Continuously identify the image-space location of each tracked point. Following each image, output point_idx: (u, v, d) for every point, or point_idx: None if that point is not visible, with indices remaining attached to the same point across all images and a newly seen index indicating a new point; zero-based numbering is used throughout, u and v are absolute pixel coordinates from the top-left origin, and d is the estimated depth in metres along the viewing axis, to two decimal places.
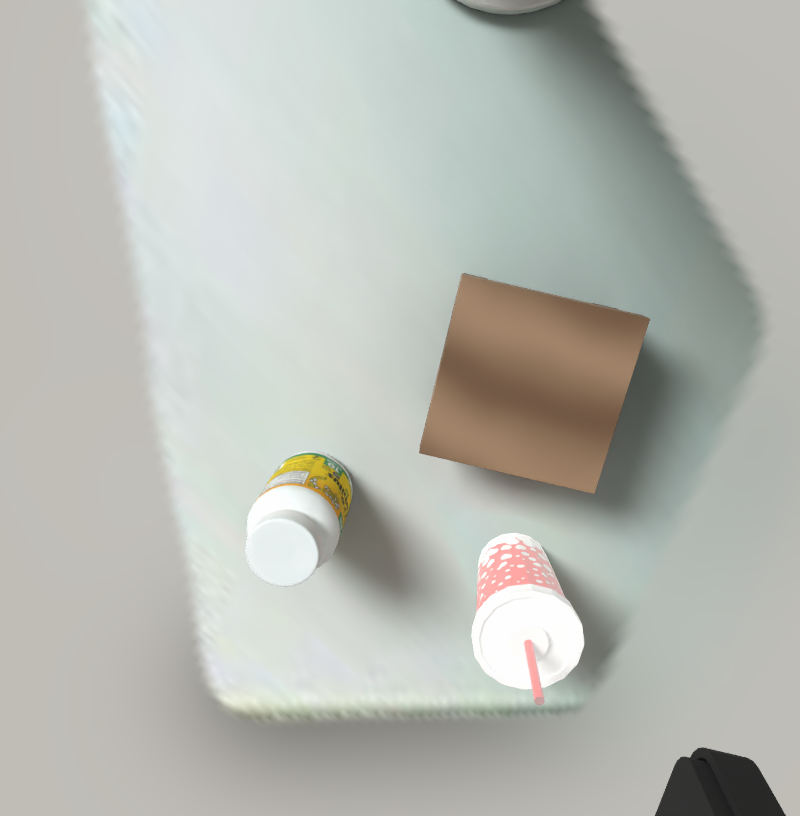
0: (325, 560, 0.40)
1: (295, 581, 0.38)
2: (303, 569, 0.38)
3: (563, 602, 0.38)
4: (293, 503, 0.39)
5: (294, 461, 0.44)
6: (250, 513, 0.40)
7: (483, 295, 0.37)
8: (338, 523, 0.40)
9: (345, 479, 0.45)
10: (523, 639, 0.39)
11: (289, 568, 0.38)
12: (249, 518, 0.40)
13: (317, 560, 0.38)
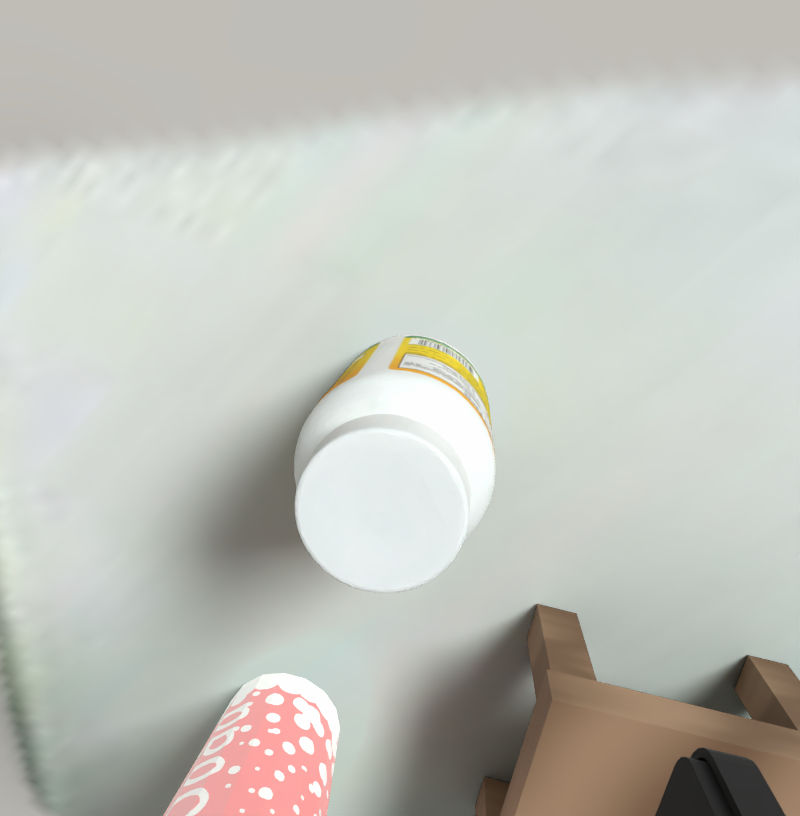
0: None
1: (310, 538, 0.16)
2: (341, 559, 0.16)
3: None
4: (470, 495, 0.18)
5: (487, 404, 0.23)
6: (437, 389, 0.18)
7: None
8: None
9: None
10: None
11: (342, 527, 0.16)
12: (426, 389, 0.18)
13: (365, 589, 0.17)
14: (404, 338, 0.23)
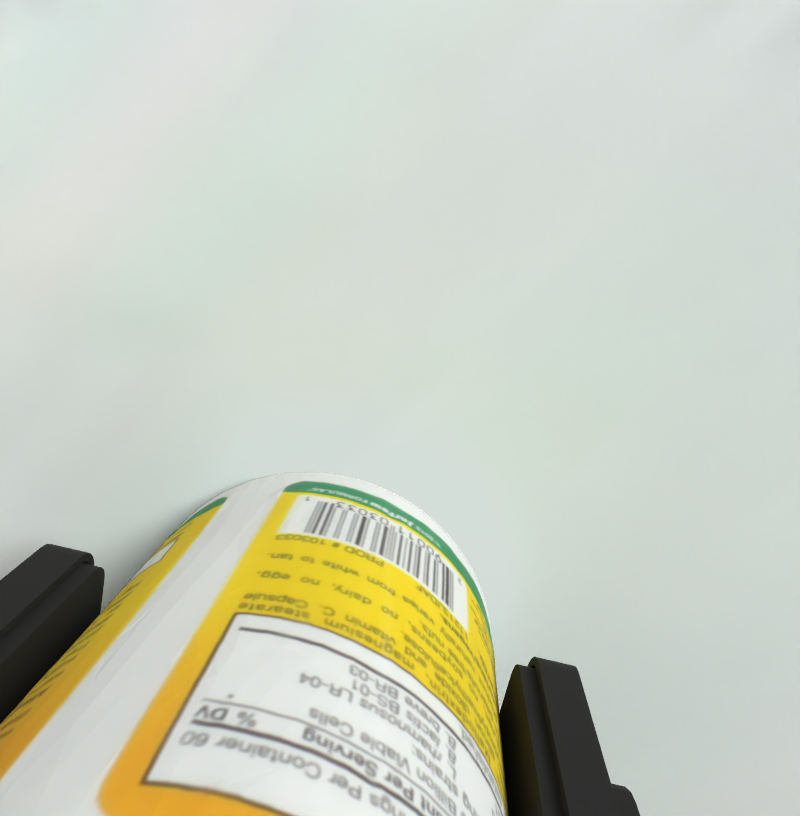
0: None
1: None
2: None
3: None
4: None
5: (492, 677, 0.09)
6: None
7: None
8: None
9: None
10: None
11: None
12: None
13: None
14: (280, 497, 0.09)
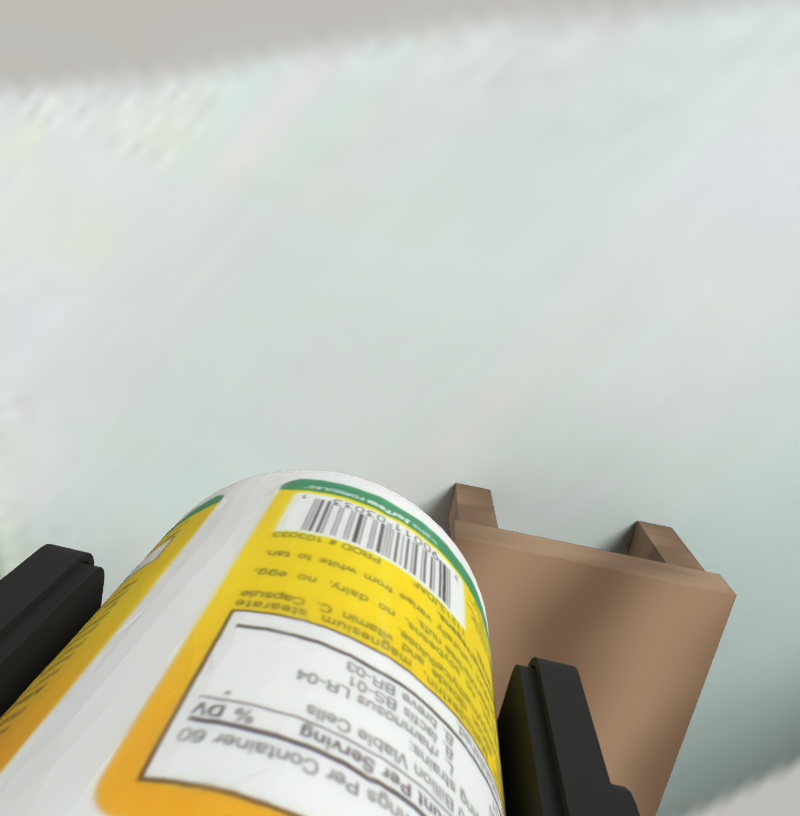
0: None
1: None
2: None
3: None
4: None
5: (488, 674, 0.09)
6: None
7: (703, 623, 0.25)
8: None
9: None
10: None
11: None
12: None
13: None
14: (276, 494, 0.09)
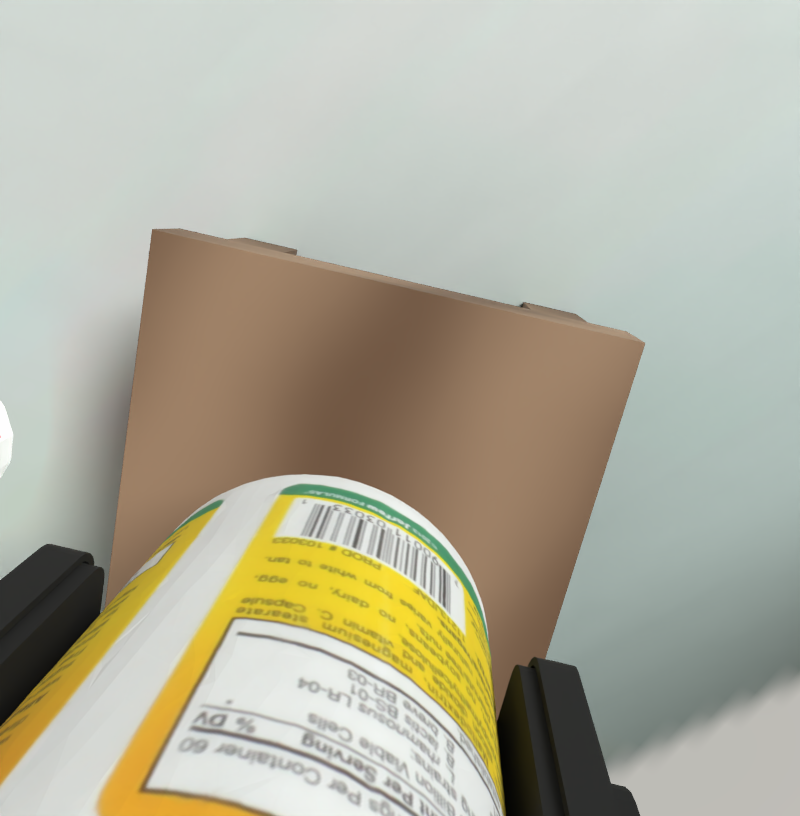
0: None
1: None
2: None
3: None
4: None
5: (489, 679, 0.09)
6: None
7: (587, 396, 0.14)
8: None
9: None
10: None
11: None
12: None
13: None
14: (276, 500, 0.09)
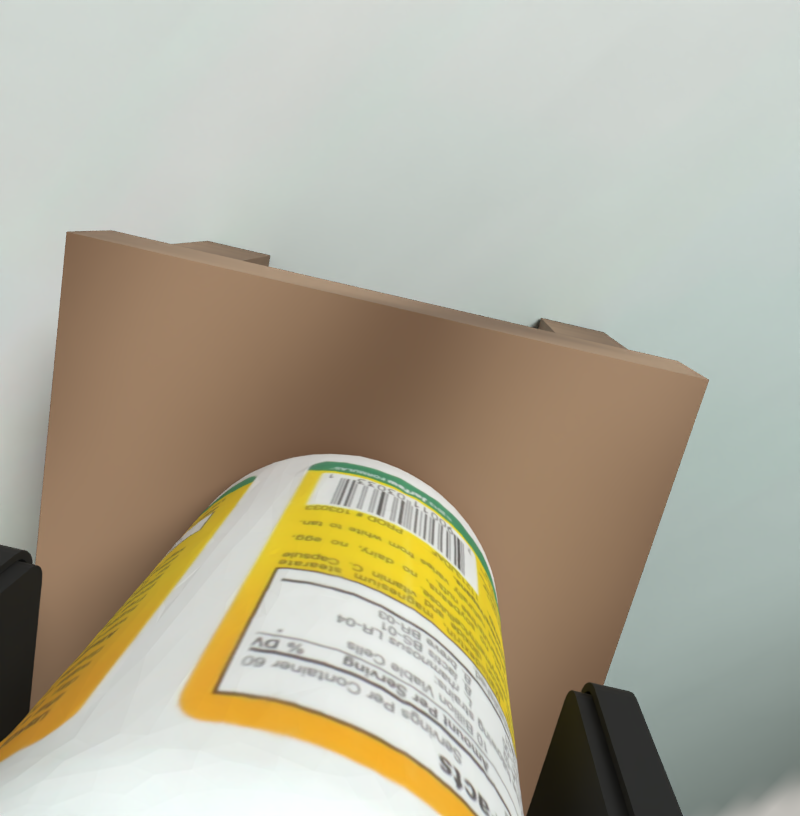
0: None
1: None
2: None
3: None
4: None
5: (499, 636, 0.10)
6: None
7: (633, 448, 0.11)
8: None
9: None
10: None
11: None
12: None
13: None
14: (306, 474, 0.10)
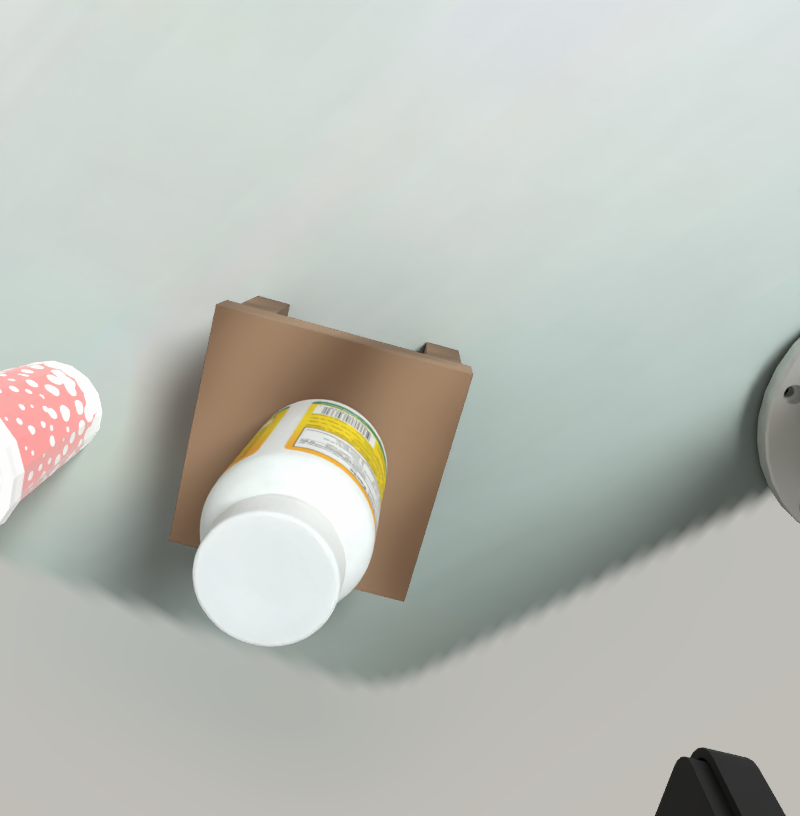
0: None
1: (205, 600, 0.19)
2: (232, 618, 0.19)
3: (0, 520, 0.26)
4: (349, 560, 0.21)
5: (382, 467, 0.26)
6: (323, 469, 0.21)
7: (443, 401, 0.27)
8: None
9: None
10: None
11: (233, 592, 0.19)
12: (314, 469, 0.21)
13: (253, 642, 0.19)
14: (311, 405, 0.26)
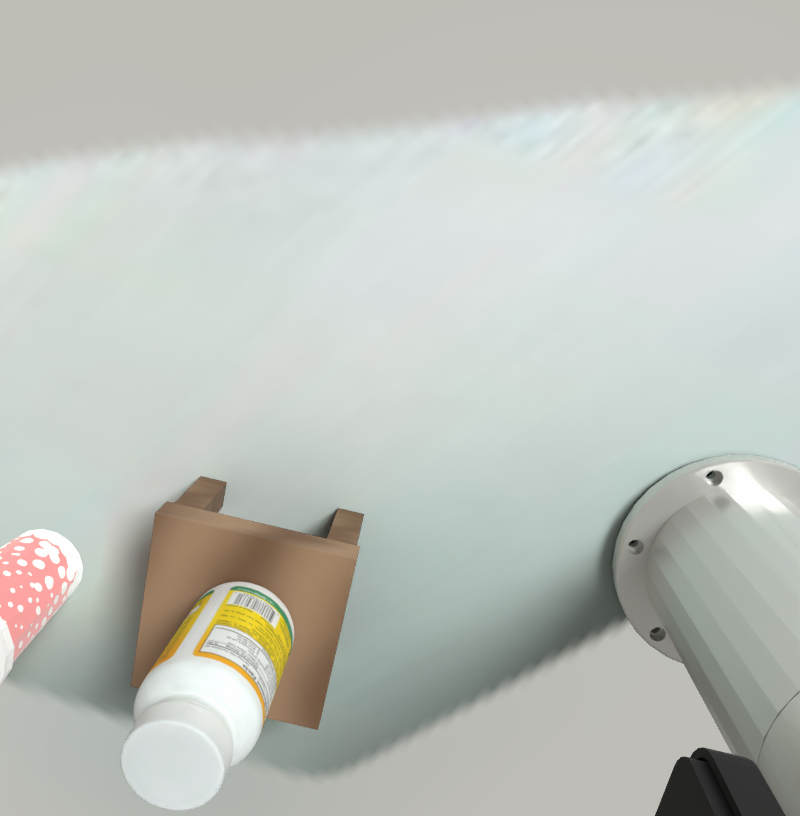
0: None
1: (130, 779, 0.27)
2: (150, 791, 0.27)
3: None
4: (240, 738, 0.29)
5: (283, 640, 0.33)
6: (218, 673, 0.28)
7: (335, 579, 0.35)
8: None
9: None
10: None
11: (149, 774, 0.27)
12: (211, 674, 0.28)
13: (166, 807, 0.27)
14: (228, 592, 0.34)
